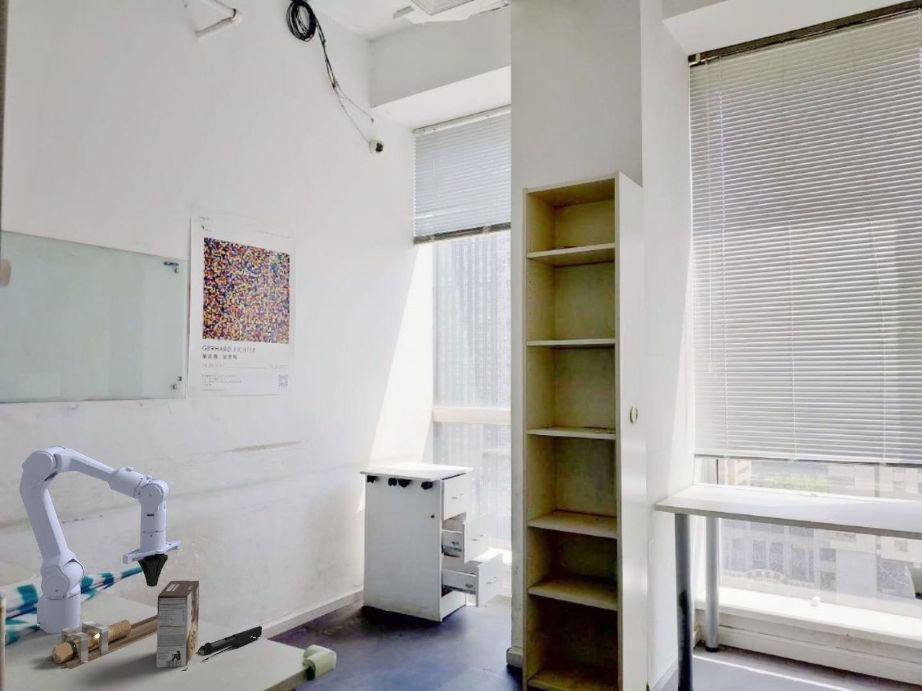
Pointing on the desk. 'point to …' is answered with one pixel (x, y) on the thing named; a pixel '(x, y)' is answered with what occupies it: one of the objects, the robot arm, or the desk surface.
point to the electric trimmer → (231, 641)
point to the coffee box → (177, 623)
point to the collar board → (104, 640)
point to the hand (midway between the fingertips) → (151, 585)
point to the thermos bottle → (90, 641)
